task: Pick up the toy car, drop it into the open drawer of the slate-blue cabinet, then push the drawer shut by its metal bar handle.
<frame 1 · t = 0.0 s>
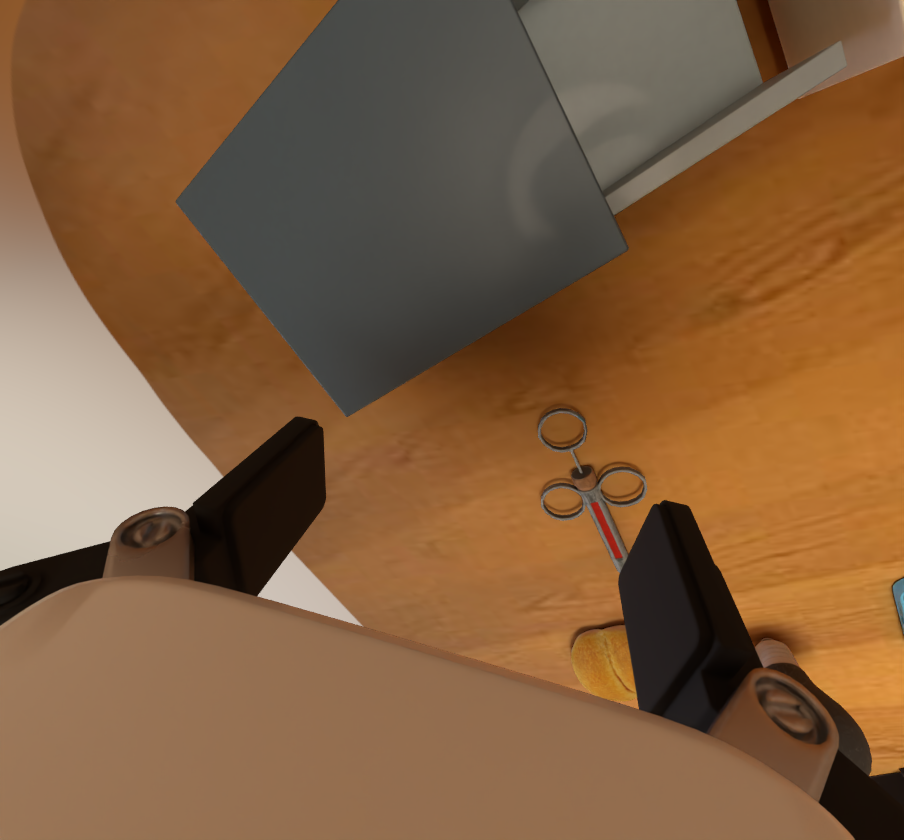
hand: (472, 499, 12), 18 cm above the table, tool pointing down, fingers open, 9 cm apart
cabinet: (433, 215, 24), on the table
light bulb: (766, 638, 34), on the table
book: (836, 823, 44), on the table
syringe: (597, 501, 32), on the table
bread roll: (621, 646, 39), on the table
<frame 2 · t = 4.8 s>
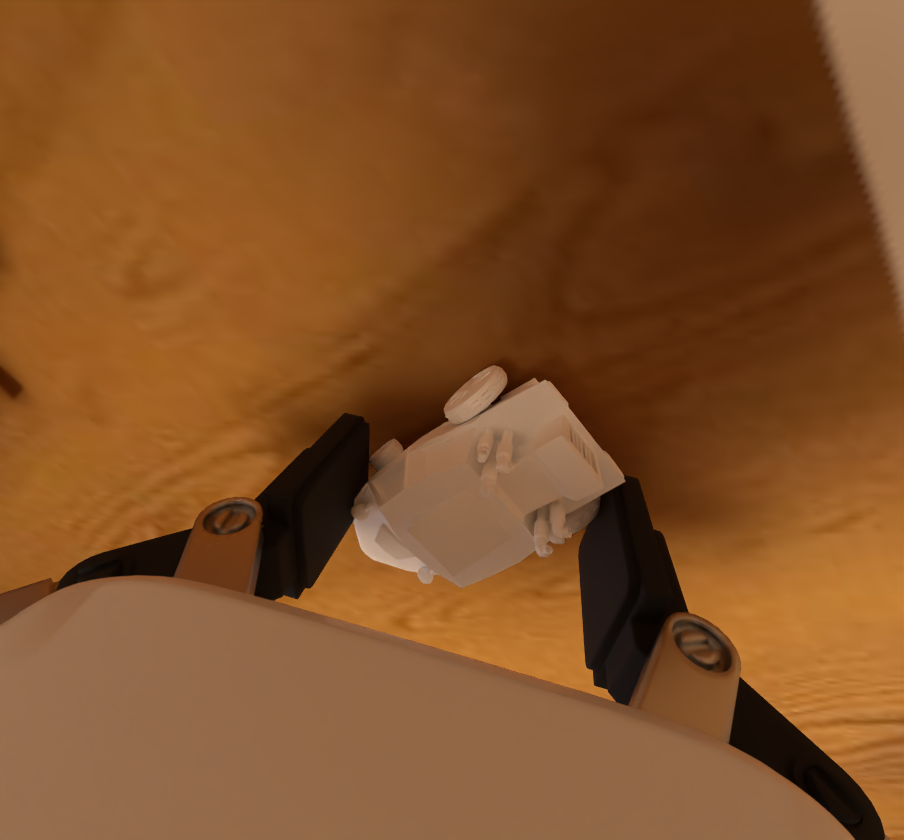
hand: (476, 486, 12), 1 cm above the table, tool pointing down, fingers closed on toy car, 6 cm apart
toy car: (476, 461, 13), on the table, touching gripper
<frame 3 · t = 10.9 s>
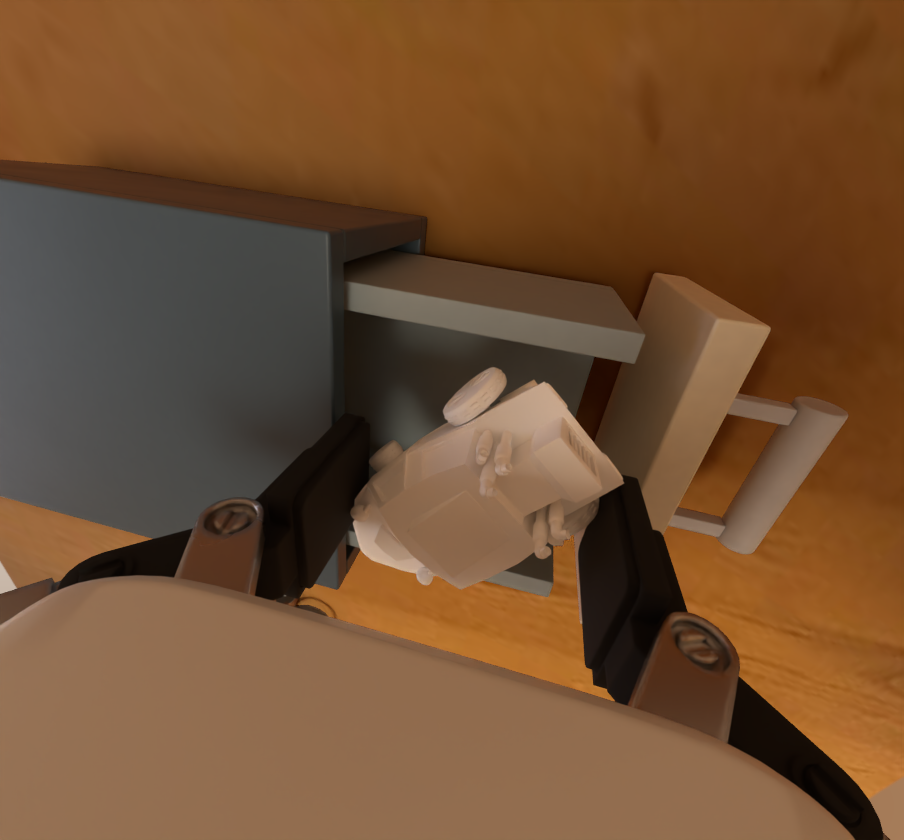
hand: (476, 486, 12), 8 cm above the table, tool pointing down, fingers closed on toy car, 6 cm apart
cabinet: (268, 331, 21), on the table
drawer: (519, 426, 15), point 4 cm above the table, slide at 9.0 cm
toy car: (475, 462, 13), point 7 cm above the table, touching gripper
when the fingers open (10 cm above the table, at t = 24.4 s): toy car drops 7 cm, resting on drawer.
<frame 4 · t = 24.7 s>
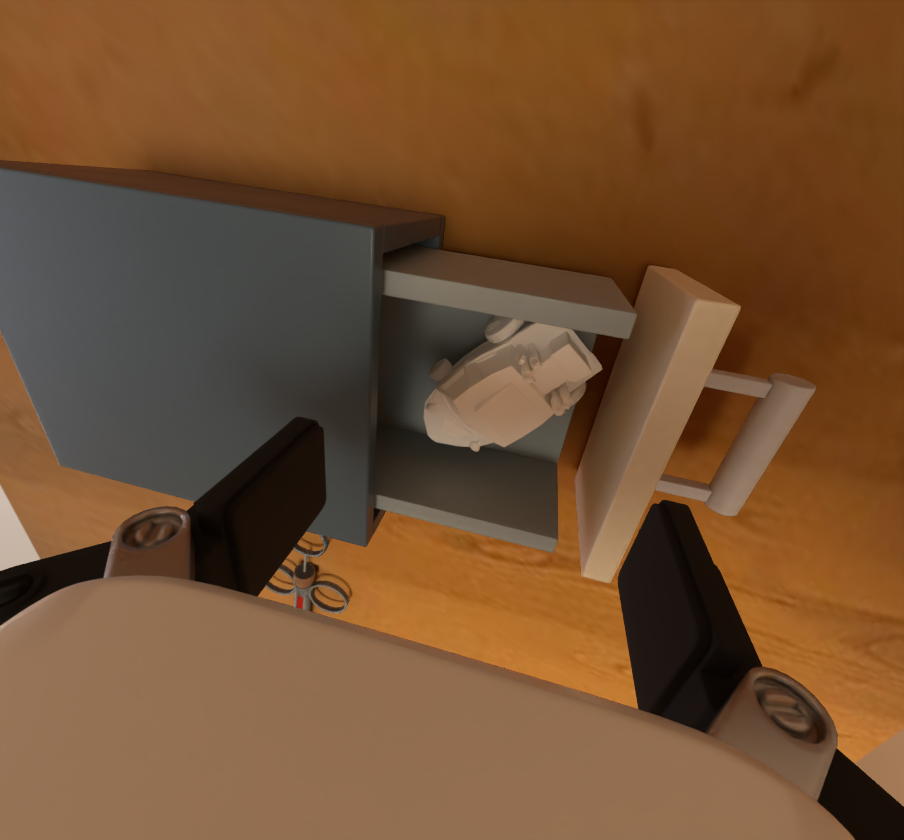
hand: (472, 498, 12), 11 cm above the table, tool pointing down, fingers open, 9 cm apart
cabinet: (297, 320, 23), on the table
drawer: (528, 402, 17), point 4 cm above the table, slide at 9.0 cm, touching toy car
syringe: (309, 588, 35), on the table
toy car: (500, 369, 19), point 2 cm above the table, touching drawer
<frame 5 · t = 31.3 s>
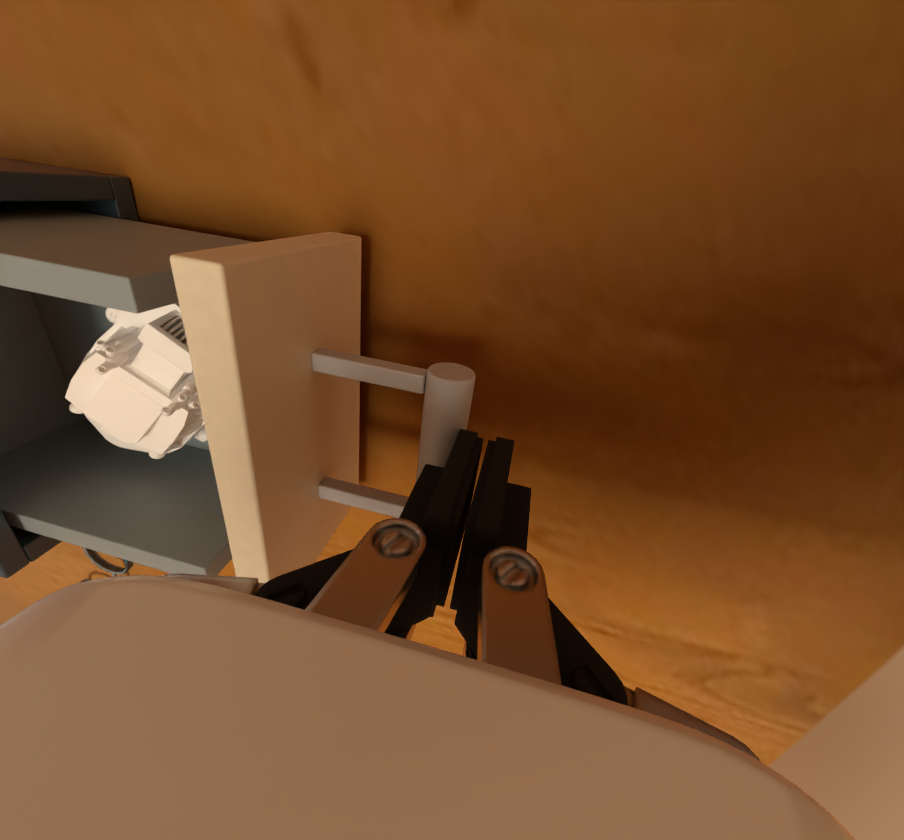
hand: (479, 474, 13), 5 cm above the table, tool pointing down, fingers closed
cabinet: (24, 306, 20), on the table
drawer: (191, 399, 14), point 4 cm above the table, slide at 8.6 cm, touching gripper, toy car
syringe: (140, 607, 31), on the table
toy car: (192, 360, 16), point 2 cm above the table, touching drawer
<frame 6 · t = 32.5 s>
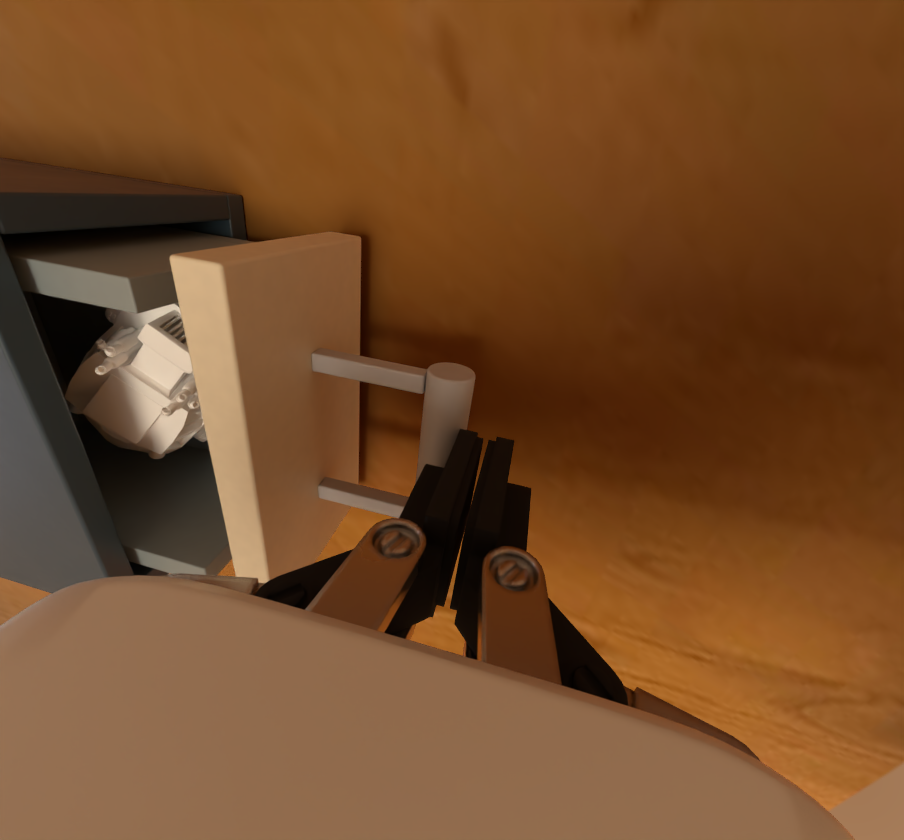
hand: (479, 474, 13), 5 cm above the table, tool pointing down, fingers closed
cabinet: (108, 324, 19), on the table
drawer: (191, 399, 14), point 4 cm above the table, slide at 3.8 cm, touching gripper, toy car
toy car: (192, 360, 16), point 2 cm above the table, touching drawer
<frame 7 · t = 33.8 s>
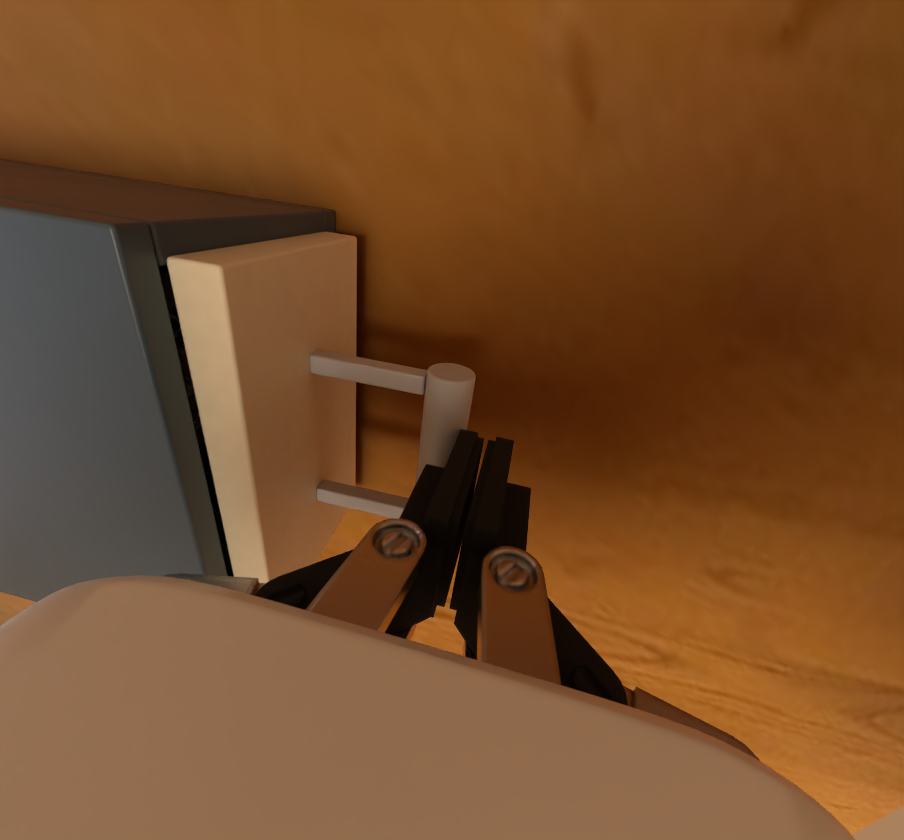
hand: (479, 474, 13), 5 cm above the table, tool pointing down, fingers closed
cabinet: (172, 342, 18), on the table
drawer: (185, 403, 14), point 4 cm above the table, slide at 0.0 cm, touching cabinet, gripper, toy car
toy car: (185, 363, 16), point 2 cm above the table, touching drawer
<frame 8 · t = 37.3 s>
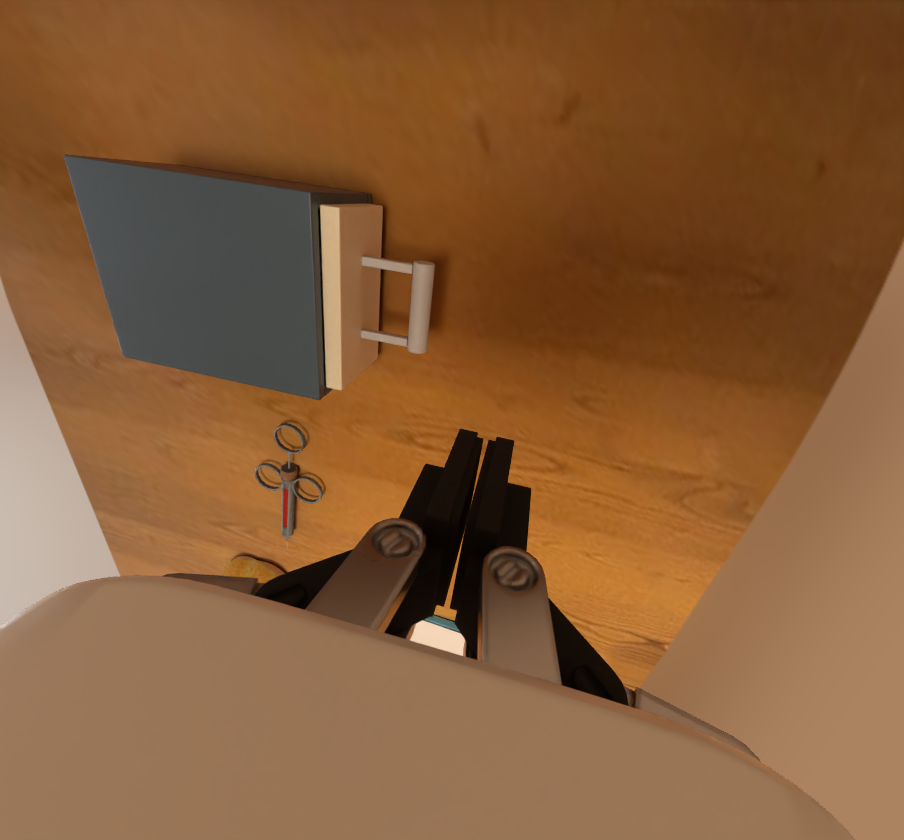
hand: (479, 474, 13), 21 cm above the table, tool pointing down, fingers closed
smartphone: (467, 643, 51), on the table
cabinet: (279, 268, 33), on the table
drawer: (299, 286, 29), point 4 cm above the table, slide at 0.0 cm, touching cabinet, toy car
syringe: (293, 487, 45), on the table
bread roll: (265, 576, 54), on the table
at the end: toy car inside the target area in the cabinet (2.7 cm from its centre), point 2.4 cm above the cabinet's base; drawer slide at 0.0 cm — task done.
